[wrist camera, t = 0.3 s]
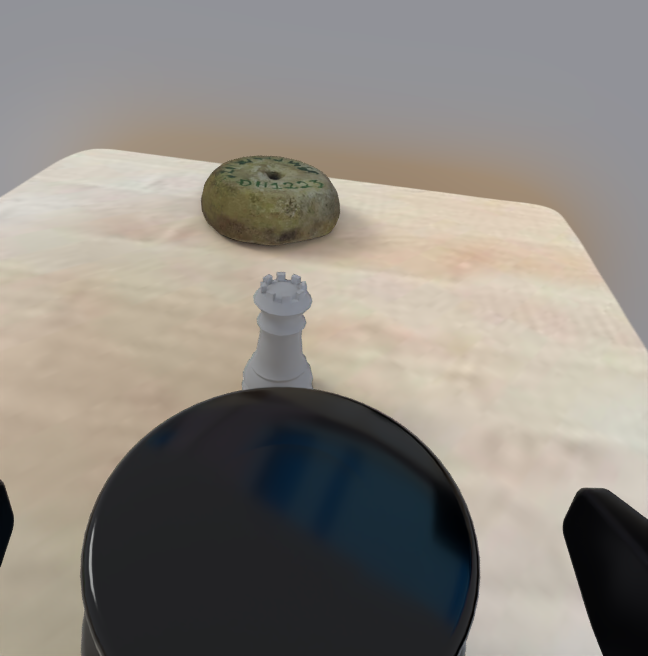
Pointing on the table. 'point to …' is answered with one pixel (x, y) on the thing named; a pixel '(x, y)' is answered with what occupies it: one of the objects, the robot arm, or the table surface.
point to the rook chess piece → (280, 335)
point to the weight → (270, 200)
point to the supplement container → (279, 536)
